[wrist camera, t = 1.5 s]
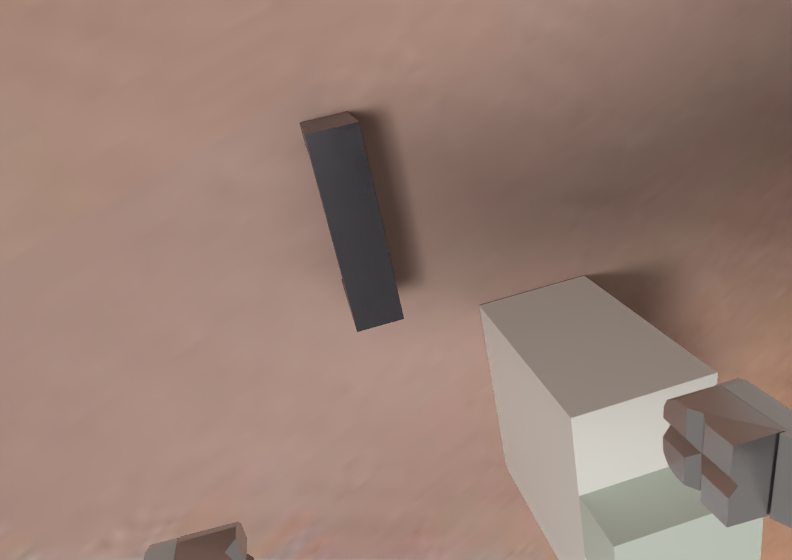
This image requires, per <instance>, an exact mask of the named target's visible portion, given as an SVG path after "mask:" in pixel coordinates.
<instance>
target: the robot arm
mask: <svg viewBox="0 0 792 560" xmlns="http://www.w3.org/2000/svg"><path fill="white" fill-rule="evenodd" d="M663 418H664V419H665V420H666V421H667V422H668V423H669V424H670V426H669V428H668V429H667V431H666V433H665V434H664V436H663V452H664V455H665V458H666V461H667V463H668V466H669V467H670V469H671V470H672V472H673V473H674V475H675V476H676V477H677V478H678V479H679V480H680V481H681V482H682V483H683V484H684V485H686V486H688V487H691V488H693V489H696V490H699V491H700V502H701V503H702V504H703V505H704V506H705V507H706V508H707V509H708V510H709V511H710V512H711V513H712V514H713V515H714V516H715V517H716V518H717V519H719V520H720V521H721V522H722V523H723V524H724V525H725V526H726V527H731V526H734V525H738V524H741V523H744V522H748V521H751V520H755V519H758V518H762V517H765V516H769V515H770V518H771V519H774V520H776V521H778V522H780V523H782V524H784V525H786V526H788V527H790V528H792V410H791V409H789V408H788V407H786V406H785V405H783V404H782V403H780V402H779V401H777V400H776V399H774V398H773V397H771V396H770V395H768V394H767V393H765V392H763V391H762V390H760V389H759V388H757V387H756V386H754V385H753V384H751V383H750V382H748V381H747V380H743V379H739V378H737V379H734V380H730V381H727V382H724V383H720V384H717V385H714V386H713V387H709V388H705V389H702V390H699V391H695V392H692V393H688V394H685V395H681V396H678V397H675V398H671V399H668V400H667V401H666V403H665V405H664V412H663ZM144 560H254V558H253V557H252V556H250V555H249V554H247V537H246V535H245V532H244V530H243V527H242V524H241V523H239V522H235V523H231V524H227V525H223V526H220V527H216V528H212V529H208V530H204V531H200V532H196V533H193V534H189V535H185V536H181V537H180V538H176V539H172V540H168V541H164V542H160V543H156V544H153V545H150V546H149V548H148V549H147V551H146V552H145V556H144Z"/></svg>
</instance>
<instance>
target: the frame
mask: <svg viewBox="0 0 792 560" xmlns="http://www.w3.org/2000/svg"><path fill="white" fill-rule="evenodd" d="M300 126H301V130H302V134H303V137H304V141H305V145H306V148H307V150H308V153H309V156H310V159H311V163H312V167H313V171H314V174H315V178H316V182H317V186H318V189H319V193H320V197H321V200H322V204H323V208H324V212H325V215H326V219H327V223H328V227H329V230H330V234H331V238H332V241H333V245H334V249H335V253H336V256H337V260H338V264H339V268H340V271H341V275H342V283H343V286H344V290H345V294H346V297H347V301H348V304H349V307H350V310H351V313H352V317H353V320H354V323H355V326H356V329H357V332H359V331H362V330H366V329H369V328H373V327H376V326H380V325H383V324H387V323H391V322H394V321H398V320H401V319H404V317H403V313H402V308H401V304H400V299H399V295H398V291H397V286H396V282H395V277H394V273H393V269H392V264H391V260H390V256H389V251H388V247H387V242H386V238H385V234H384V229H383V225H382V220H381V216H380V212H379V207H378V203H377V198H376V194H375V190H374V185H373V181H372V177H371V172H370V168H369V163H368V159H367V155H366V150H365V146H364V141H363V137H362V133H361V128H360V124H359V121H358V120H357V119H355V118H354V117H353V116H352V115H351V114H349V113H348V112H347V111H346V112H342V113H337V114H333V115H329V116H325V117H321V118H317V119H313V120H309V121H304V122H300Z"/></svg>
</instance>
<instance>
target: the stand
mask: <svg viewBox="0 0 792 560" xmlns="http://www.w3.org/2000/svg"><path fill="white" fill-rule="evenodd" d="M479 307H480V313H481V319H482V325H483V331H484V337H485V343H486V349H487V355H488V361H489V367H490V373H491V379H492V385H493V392H494V398H495V404H496V410H497V416H498V422H499V428H500V434H501V440H502V446H503V452H504V458H505V464H506V467H507V469H508V471H509V473H510V475H511V476H512V478H513V480H514V482H515V483H516V485H517V487H518V489H519V490H520V492H521V494H522V496H523V498H524V499H525V501H526V503H527V505H528V506H529V508H530V510H531V512H532V513H533V515H534V517H535V519H536V521H537V522H538V524H539V526H540V528H541V529H542V531H543V533H544V535H545V536H546V538H547V540H548V542H549V544H550V545H551V547H552V549H553V551H554V552H555V554H556V556H557V558H558V559H559V560H760V556H761V542H762V527H763V517H762V518H758V519H755V520H751V521H748V522H744V523H741V524H738V525H734V526H731V527H726V526H725V525H724V524H723V523H722V522H721V521H720V520H719V519H717V518H716V517H715V516H714V515H713V514H712V513H711V512H710V511H709V510H708V509H707V508H706V507H705V506H704V505H703V504H702V503H701V502H700V491H699V490H696V489H693V488H691V487H688V486H686V485H684V484H683V483H682V482H681V481H680V480H679V479H678V478H677V477H676V476H675V475H674V473H673V472H672V470H671V469H670V467H669V466H668V463H667V461H666V458H665V455H664V452H663V436H664V434H665V433H666V431H667V429H668V428H669V426H670V424H669V423H668V422H667V421H666V420H665V419H664V418H663V412H664V405H665V403H666V401H667V400H668V399H671V398H675V397H678V396H681V395H685V394H688V393H692V392H695V391H699V390H702V389H705V388H709V387H713V386H714V385H717V372H716V371H715V370H713V369H712V368H710V367H709V366H708V365H706V364H705V363H704V362H702V361H701V360H699V359H698V358H697V357H695V356H694V355H693V354H691V353H690V352H688V351H687V350H686V349H684V348H683V347H682V346H680V345H679V344H677V343H676V342H675V341H673V340H672V339H671V338H669V337H668V336H666V335H665V334H664V333H662V332H661V331H660V330H658V329H657V328H655V327H654V326H653V325H651V324H650V323H649V322H647V321H646V320H644V319H643V318H642V317H640V316H639V315H638V314H636V313H635V312H633V311H632V310H631V309H629V308H628V307H627V306H625V305H624V304H622V303H621V302H620V301H618V300H617V299H616V298H614V297H613V296H611V295H610V294H609V293H607V292H606V291H605V290H603V289H602V288H600V287H599V286H598V285H596V284H595V283H594V282H592V281H591V280H590V279H588V278H587V277H585V276H581V277H578V278H574V279H571V280H567V281H563V282H560V283H556V284H553V285H549V286H546V287H542V288H539V289H535V290H532V291H528V292H525V293H521V294H518V295H514V296H511V297H507V298H504V299H500V300H497V301H493V302H490V303H486V304H483V305H479Z"/></svg>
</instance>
